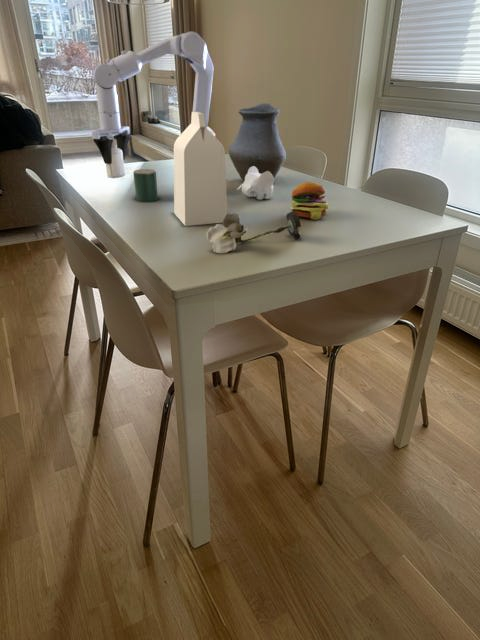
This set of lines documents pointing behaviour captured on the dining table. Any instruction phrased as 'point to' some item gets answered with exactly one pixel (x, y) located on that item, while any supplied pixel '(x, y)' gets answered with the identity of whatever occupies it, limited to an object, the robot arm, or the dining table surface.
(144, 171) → the green tin can
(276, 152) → the grey clay vase
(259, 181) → the elephant figurine
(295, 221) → the artificial flower
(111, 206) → the dining table surface
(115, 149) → the eye dropper bottle
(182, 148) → the milk
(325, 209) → the cheeseburger
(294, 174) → the dining table surface
